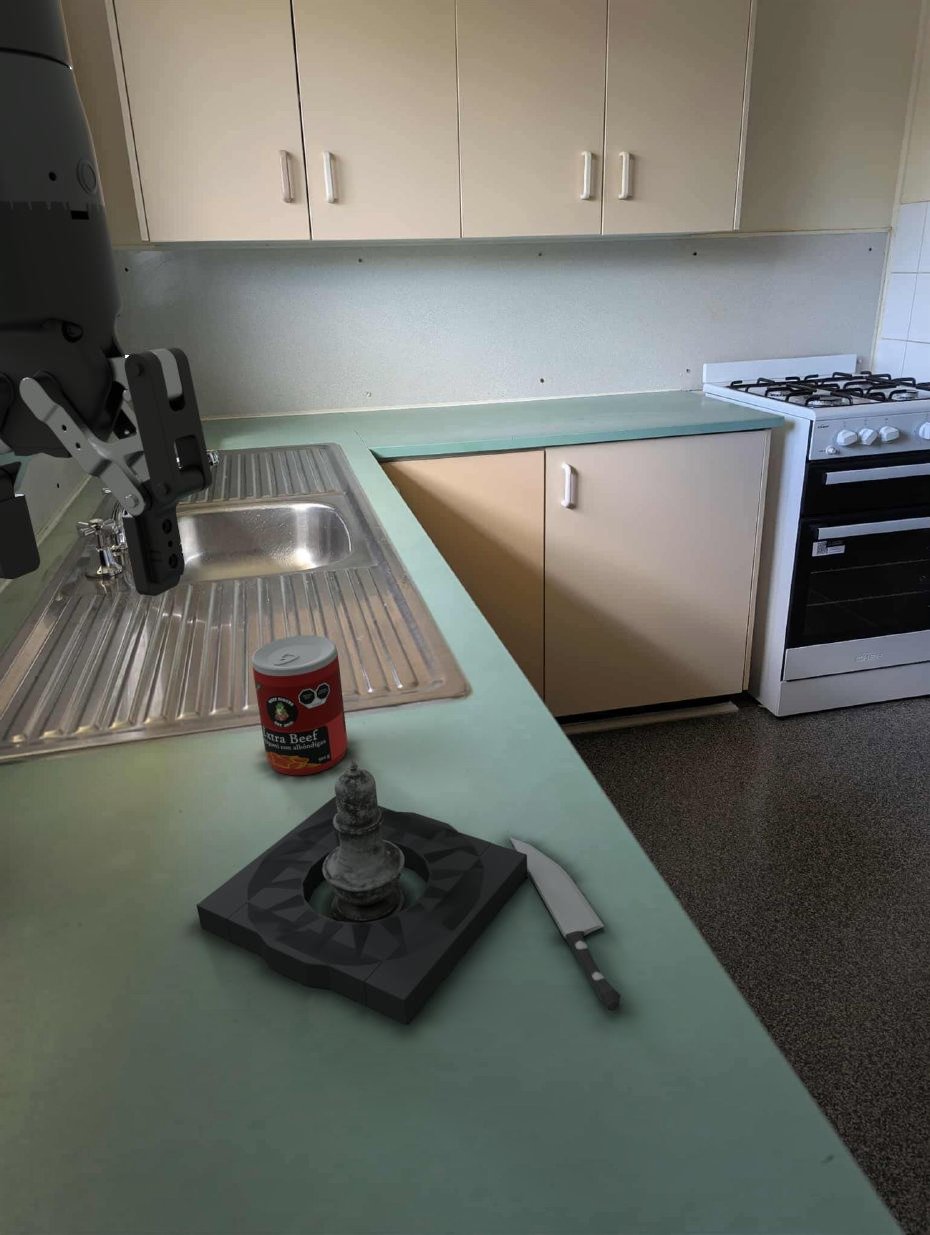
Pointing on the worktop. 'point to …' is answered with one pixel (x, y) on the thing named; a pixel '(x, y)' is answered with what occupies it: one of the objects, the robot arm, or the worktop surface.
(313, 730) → the canned food
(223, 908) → the black pad
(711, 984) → the worktop surface
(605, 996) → the chef's knife
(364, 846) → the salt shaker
